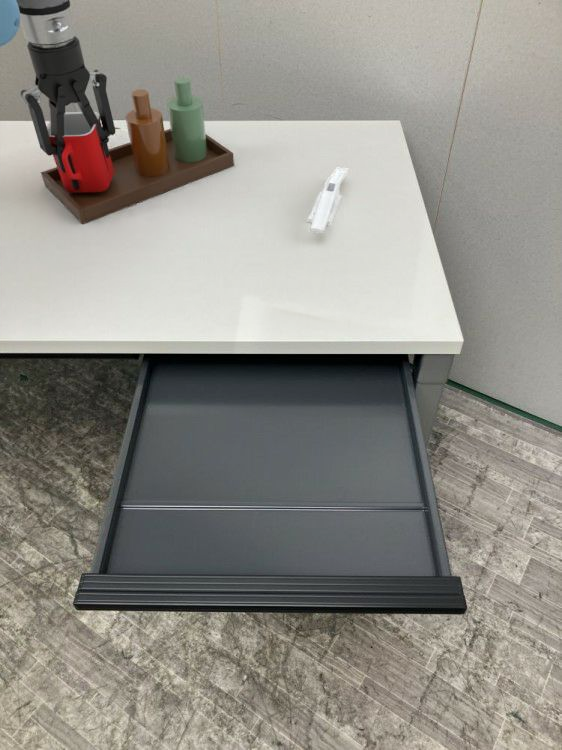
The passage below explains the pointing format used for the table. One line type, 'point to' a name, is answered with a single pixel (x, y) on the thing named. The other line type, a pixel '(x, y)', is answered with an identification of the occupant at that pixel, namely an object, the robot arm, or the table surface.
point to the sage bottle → (187, 123)
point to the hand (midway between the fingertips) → (89, 180)
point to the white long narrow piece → (327, 201)
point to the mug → (83, 155)
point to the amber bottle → (147, 137)
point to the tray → (136, 180)
